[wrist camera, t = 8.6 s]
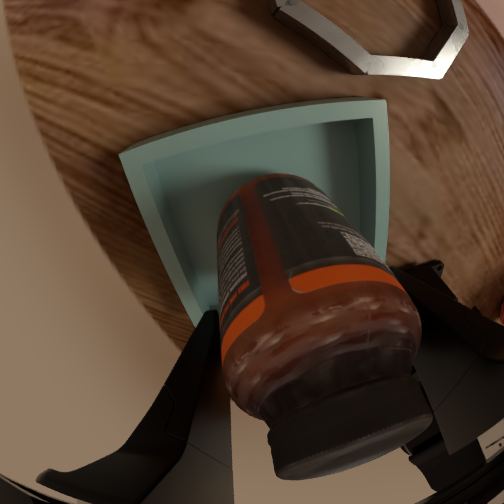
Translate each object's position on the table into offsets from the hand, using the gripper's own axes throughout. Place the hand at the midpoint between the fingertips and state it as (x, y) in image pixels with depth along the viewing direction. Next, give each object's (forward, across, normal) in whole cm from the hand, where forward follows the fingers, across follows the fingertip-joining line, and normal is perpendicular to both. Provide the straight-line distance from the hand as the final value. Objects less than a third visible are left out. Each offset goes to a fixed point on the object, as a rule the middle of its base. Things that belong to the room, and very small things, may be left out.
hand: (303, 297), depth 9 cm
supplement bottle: (+6, 0, 0) cm, 6 cm away
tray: (+7, 0, 0) cm, 7 cm away
